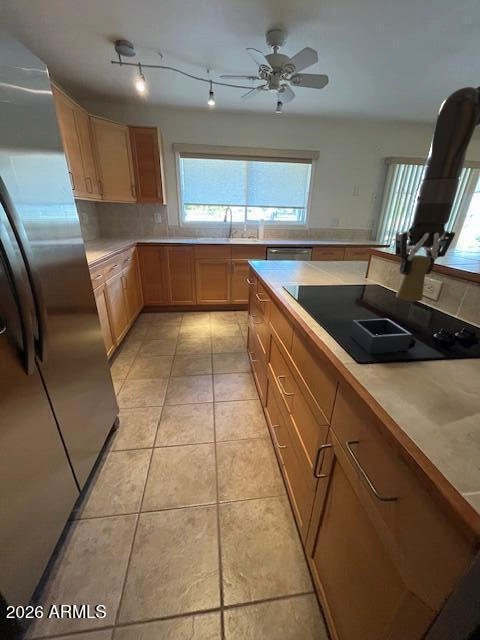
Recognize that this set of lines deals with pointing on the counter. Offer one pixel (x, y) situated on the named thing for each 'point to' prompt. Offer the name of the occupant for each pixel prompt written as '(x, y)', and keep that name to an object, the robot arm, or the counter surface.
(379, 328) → the bin
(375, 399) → the counter surface
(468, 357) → the counter surface
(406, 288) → the cork
